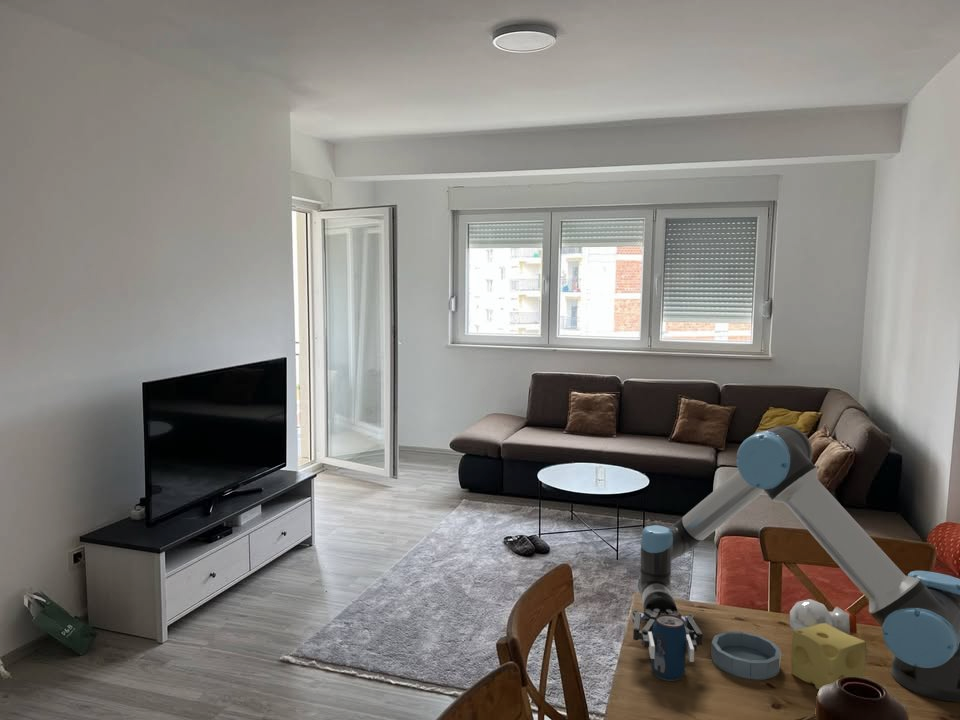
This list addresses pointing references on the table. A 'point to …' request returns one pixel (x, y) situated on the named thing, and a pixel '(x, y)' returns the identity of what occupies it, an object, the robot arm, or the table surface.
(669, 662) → the soda can
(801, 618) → the potion bottle
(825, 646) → the cheese
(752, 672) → the bowl
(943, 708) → the table surface
